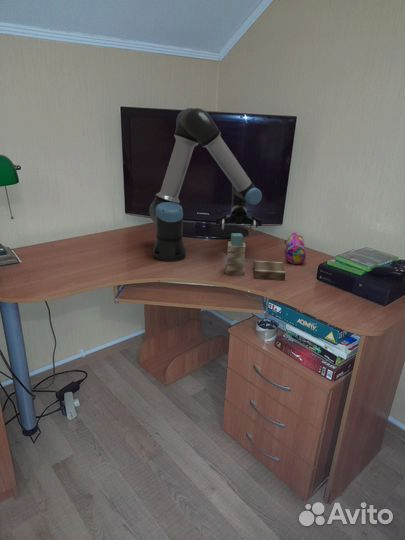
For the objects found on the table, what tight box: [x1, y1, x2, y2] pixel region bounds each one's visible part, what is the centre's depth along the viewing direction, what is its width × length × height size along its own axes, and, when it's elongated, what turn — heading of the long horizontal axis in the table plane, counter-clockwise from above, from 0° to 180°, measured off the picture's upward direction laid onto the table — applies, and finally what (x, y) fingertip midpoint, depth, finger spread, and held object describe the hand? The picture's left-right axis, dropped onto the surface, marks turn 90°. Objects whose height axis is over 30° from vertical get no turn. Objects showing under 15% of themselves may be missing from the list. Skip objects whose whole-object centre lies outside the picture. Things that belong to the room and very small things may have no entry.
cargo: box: [230, 232, 244, 246], centre depth 156 cm, size 4×4×4 cm
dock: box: [253, 260, 286, 281], centre depth 159 cm, size 12×12×3 cm
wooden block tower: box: [224, 241, 246, 276], centre depth 159 cm, size 8×7×12 cm
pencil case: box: [283, 232, 307, 265], centre depth 179 cm, size 22×9×9 cm, turn 170°
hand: (238, 226), depth 164 cm, fingers open, 13 cm apart
